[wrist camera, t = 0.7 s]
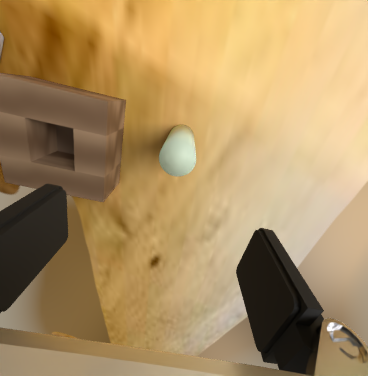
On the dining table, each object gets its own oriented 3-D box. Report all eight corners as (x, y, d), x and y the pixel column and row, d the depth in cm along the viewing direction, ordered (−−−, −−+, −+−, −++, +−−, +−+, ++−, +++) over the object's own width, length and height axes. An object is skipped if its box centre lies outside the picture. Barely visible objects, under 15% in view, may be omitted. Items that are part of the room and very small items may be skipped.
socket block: (29, 76, 23) (-19, 70, 18) (125, 100, 24) (107, 101, 19) (39, 165, 29) (4, 182, 23) (119, 182, 30) (103, 202, 24)
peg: (171, 122, 25) (162, 136, 16) (196, 128, 26) (200, 145, 17) (167, 146, 27) (156, 172, 18) (190, 152, 27) (191, 179, 18)
